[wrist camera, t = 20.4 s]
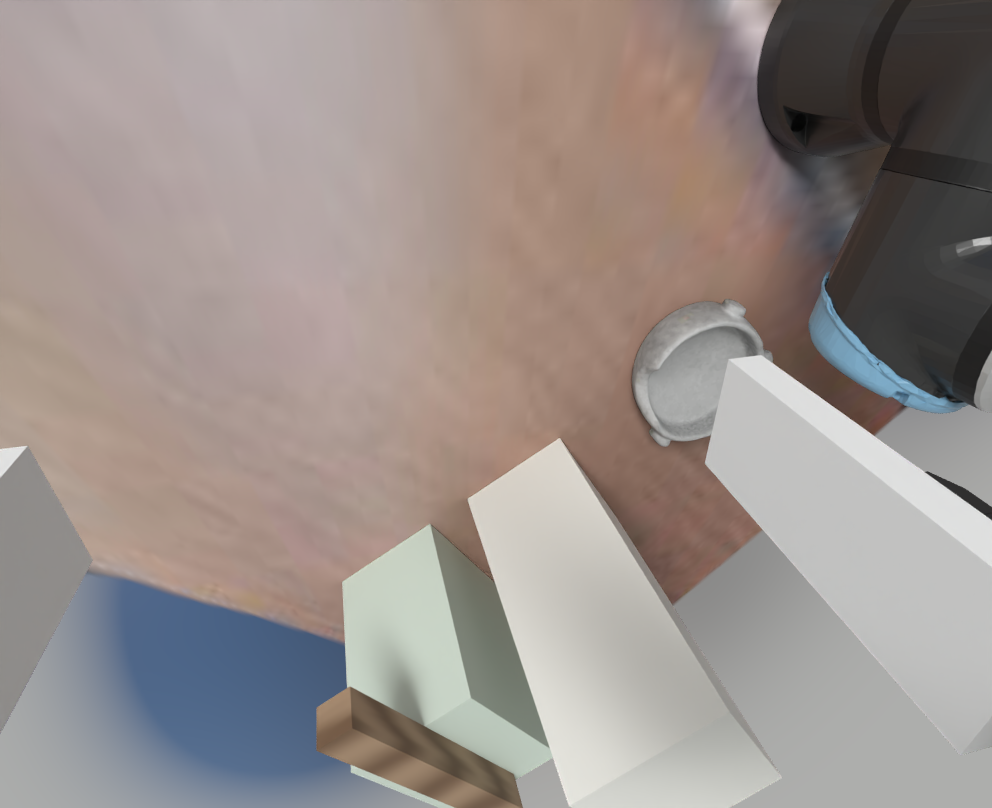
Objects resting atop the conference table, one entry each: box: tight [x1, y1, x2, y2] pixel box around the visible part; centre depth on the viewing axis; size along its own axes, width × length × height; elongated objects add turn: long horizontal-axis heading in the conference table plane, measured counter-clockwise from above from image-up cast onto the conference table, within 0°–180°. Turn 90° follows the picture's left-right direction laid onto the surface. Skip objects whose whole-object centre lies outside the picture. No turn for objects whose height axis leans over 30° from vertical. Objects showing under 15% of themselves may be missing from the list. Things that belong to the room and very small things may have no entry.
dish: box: [632, 299, 773, 446], centre depth 56 cm, size 14×14×5 cm
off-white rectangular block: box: [467, 438, 782, 808], centre depth 52 cm, size 16×12×30 cm
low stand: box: [342, 524, 553, 808], centre depth 58 cm, size 16×12×20 cm
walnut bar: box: [317, 687, 523, 808], centre depth 45 cm, size 24×3×3 cm, turn 32°
